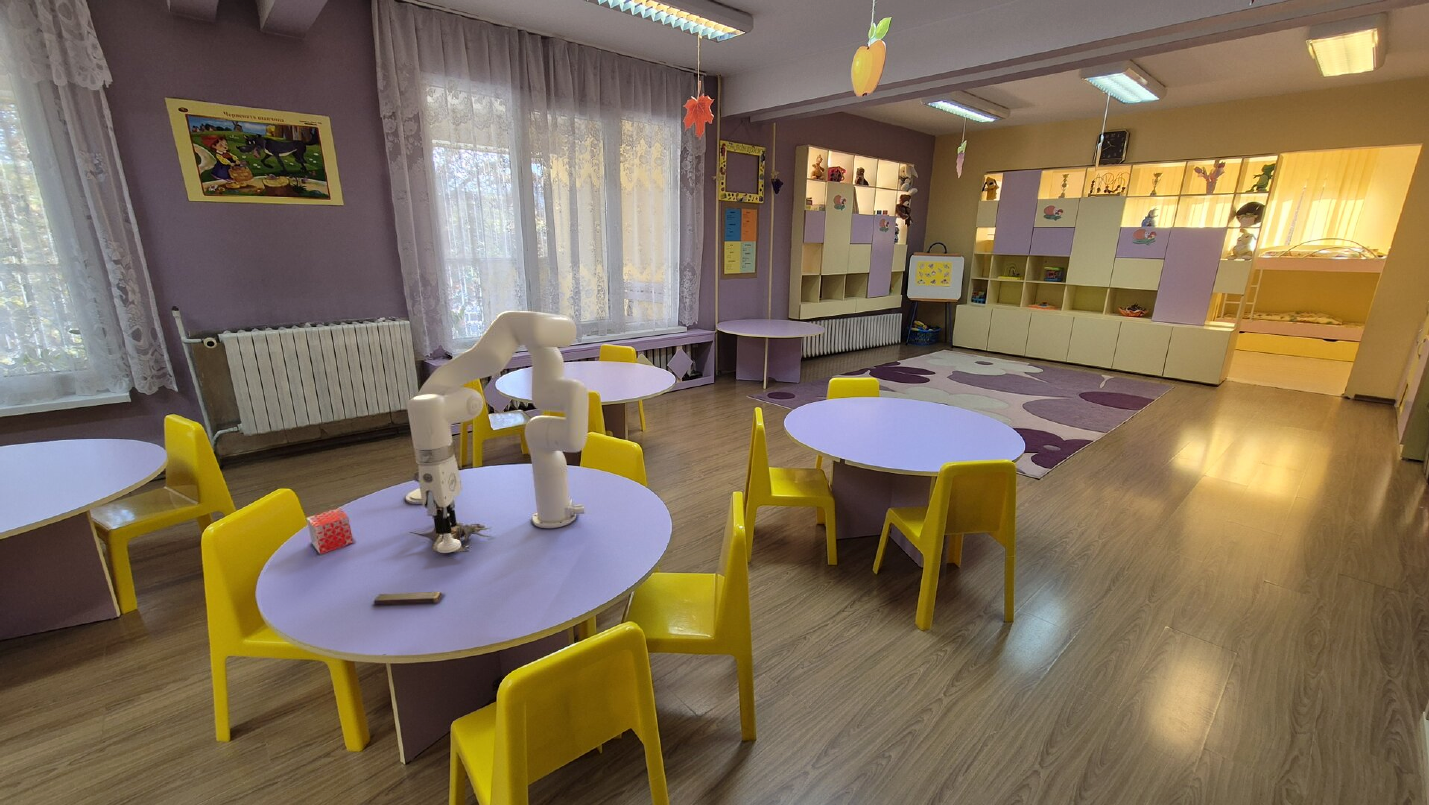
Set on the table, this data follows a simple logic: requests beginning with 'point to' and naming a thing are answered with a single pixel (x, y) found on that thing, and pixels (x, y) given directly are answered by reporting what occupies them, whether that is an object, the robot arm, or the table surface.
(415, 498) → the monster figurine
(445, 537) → the chess piece
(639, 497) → the table surface
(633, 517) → the table surface
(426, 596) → the walnut stick
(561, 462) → the robot arm
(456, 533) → the figurine
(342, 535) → the red patterned box
